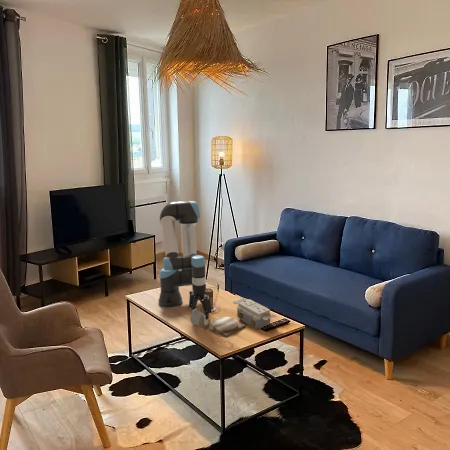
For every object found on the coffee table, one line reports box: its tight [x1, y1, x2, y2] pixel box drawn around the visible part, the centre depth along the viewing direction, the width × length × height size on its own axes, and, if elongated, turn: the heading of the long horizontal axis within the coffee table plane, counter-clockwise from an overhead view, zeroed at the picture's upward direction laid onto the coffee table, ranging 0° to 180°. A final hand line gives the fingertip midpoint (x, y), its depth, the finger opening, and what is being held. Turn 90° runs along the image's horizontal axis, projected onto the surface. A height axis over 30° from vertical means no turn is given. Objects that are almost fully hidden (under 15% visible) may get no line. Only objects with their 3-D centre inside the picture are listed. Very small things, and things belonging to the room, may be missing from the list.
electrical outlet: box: [232, 298, 277, 329], centre depth 255 cm, size 12×28×10 cm, turn 37°
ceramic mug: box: [189, 310, 211, 328], centre depth 253 cm, size 11×8×8 cm
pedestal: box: [203, 316, 246, 338], centre depth 248 cm, size 16×16×4 cm
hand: (200, 322), depth 253 cm, fingers closed on ceramic mug, 8 cm apart
